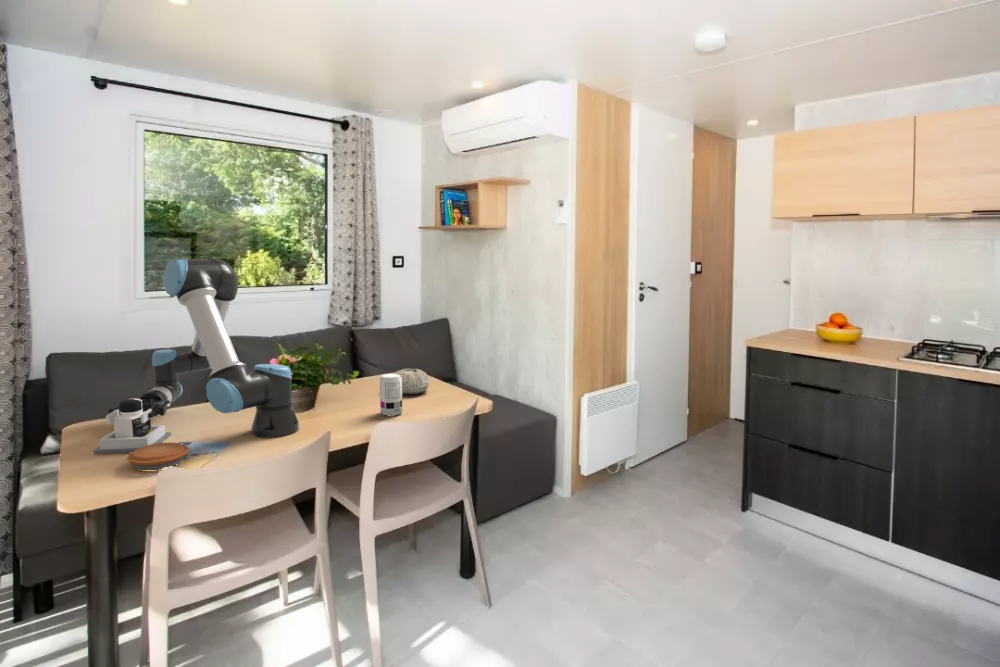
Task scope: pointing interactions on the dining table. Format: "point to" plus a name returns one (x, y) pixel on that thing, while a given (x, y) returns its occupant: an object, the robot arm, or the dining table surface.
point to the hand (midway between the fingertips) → (124, 419)
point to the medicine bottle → (131, 420)
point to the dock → (131, 441)
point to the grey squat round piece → (413, 381)
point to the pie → (158, 456)
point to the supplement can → (391, 394)
